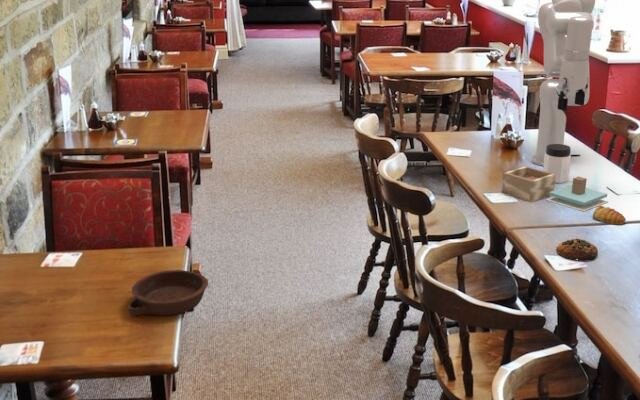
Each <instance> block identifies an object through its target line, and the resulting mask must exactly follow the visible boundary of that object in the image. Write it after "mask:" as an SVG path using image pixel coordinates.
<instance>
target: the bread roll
mask: <svg viewBox="0 0 640 400" xmlns="http://www.w3.org/2000/svg"><path fill="white" fill-rule="evenodd" d="M555 248H556V252H557V253H558V255H560V256H561V257H563V258H567V259H568V258H571V259H572V260H573V259H578V261H579V260H591V259H593V260H595V259H596V258H597V255H598V253H599V251H598V247H597V246H595V245H594V244H593V243H591V242H589V241H587V240H586V239H581V238H571V239H567V240H564V241H562V242H560V243H559V244H558V245H557V246H556V247H555ZM595 257H596V258H595ZM594 258H595V259H594ZM571 259H570V260H571ZM591 261H592V260H591Z"/></svg>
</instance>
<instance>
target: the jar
mask: <svg viewBox="0 0 640 400" xmlns="http://www.w3.org/2000/svg"><path fill="white" fill-rule="evenodd" d="M571 151H572V150H571V146H569V145H567V144H563V145H562V144H550V145H547V147H546V153H545V156H544V166H542V167H543V169H542V171H545V172H549V173H552V174H556V175H555V184H562V183H563V184H564V183H566V182H569V178H570V168H571V159H572V156H571Z"/></svg>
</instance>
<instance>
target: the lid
mask: <svg viewBox="0 0 640 400" xmlns="http://www.w3.org/2000/svg"><path fill="white" fill-rule="evenodd" d="M549 195H550V196H549V197H557V198H558V200H560V201H564V202H567V203H570V204H574V205H577V206H580V207H583V206H585V205H588V204H590V203H593V202H595V201H597V200H600V199H602V200H604V199H605V198H607V197H608V193H605V192H602V191H598V190H595V189H591V188H587V178H586V177H582V176H576V177H573V178H572V183H571V184H569V185H566V186H563V187H560V188H558V189H557V188H556V189H554V191H552V192H549Z"/></svg>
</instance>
